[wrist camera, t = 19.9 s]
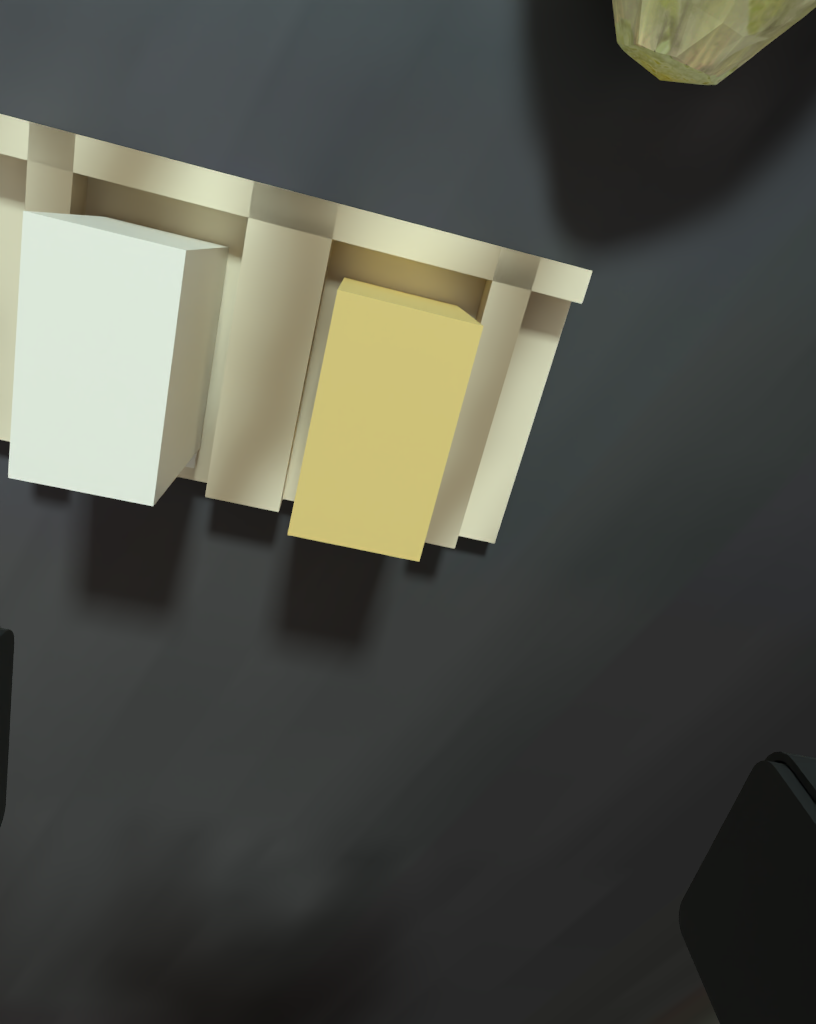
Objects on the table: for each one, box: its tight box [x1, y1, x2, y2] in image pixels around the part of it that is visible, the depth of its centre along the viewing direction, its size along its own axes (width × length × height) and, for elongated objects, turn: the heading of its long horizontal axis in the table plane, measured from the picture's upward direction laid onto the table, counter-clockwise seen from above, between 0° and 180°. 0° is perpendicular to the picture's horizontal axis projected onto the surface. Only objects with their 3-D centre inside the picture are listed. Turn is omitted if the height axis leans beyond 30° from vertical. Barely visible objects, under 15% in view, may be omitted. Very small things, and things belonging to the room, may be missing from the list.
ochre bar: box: [288, 277, 483, 562], centre depth 27 cm, size 8×4×7 cm, turn 166°
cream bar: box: [8, 211, 229, 506], centre depth 25 cm, size 8×4×7 cm, turn 167°
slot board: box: [0, 114, 592, 549], centre depth 29 cm, size 22×12×2 cm, turn 76°
